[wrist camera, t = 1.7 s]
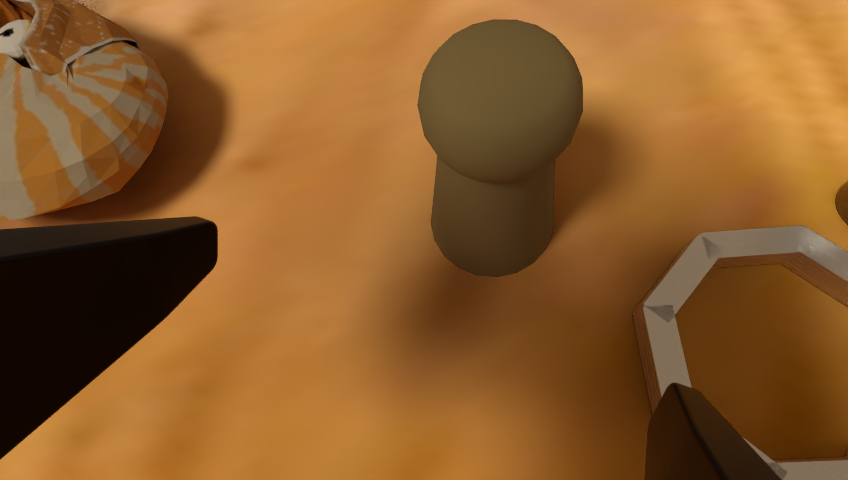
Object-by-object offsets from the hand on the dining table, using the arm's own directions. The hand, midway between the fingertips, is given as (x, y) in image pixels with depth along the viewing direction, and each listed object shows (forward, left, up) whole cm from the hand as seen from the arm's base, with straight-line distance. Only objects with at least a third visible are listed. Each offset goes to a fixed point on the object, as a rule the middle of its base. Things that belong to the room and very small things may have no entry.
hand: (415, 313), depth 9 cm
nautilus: (-15, +24, -14) cm, 31 cm away
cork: (+5, +6, -14) cm, 16 cm away
